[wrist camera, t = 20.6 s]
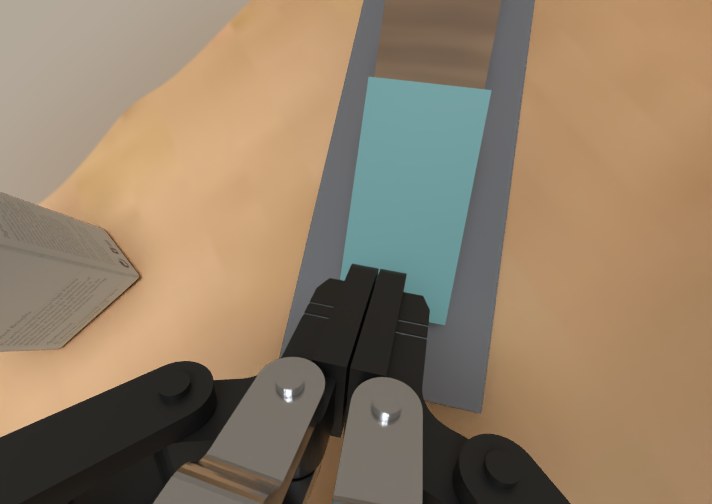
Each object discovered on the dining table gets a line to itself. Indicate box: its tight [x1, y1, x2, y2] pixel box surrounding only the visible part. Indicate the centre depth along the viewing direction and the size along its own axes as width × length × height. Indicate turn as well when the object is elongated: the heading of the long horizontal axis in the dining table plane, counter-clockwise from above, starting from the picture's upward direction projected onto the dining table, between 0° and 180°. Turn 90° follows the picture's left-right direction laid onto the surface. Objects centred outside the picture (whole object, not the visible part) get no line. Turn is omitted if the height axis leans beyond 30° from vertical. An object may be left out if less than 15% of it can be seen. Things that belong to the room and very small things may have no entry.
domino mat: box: [279, 0, 535, 413], centre depth 22 cm, size 26×10×1 cm, turn 169°
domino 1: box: [374, 0, 502, 89], centre depth 19 cm, size 2×5×10 cm
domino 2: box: [340, 77, 492, 325], centre depth 18 cm, size 2×5×10 cm
